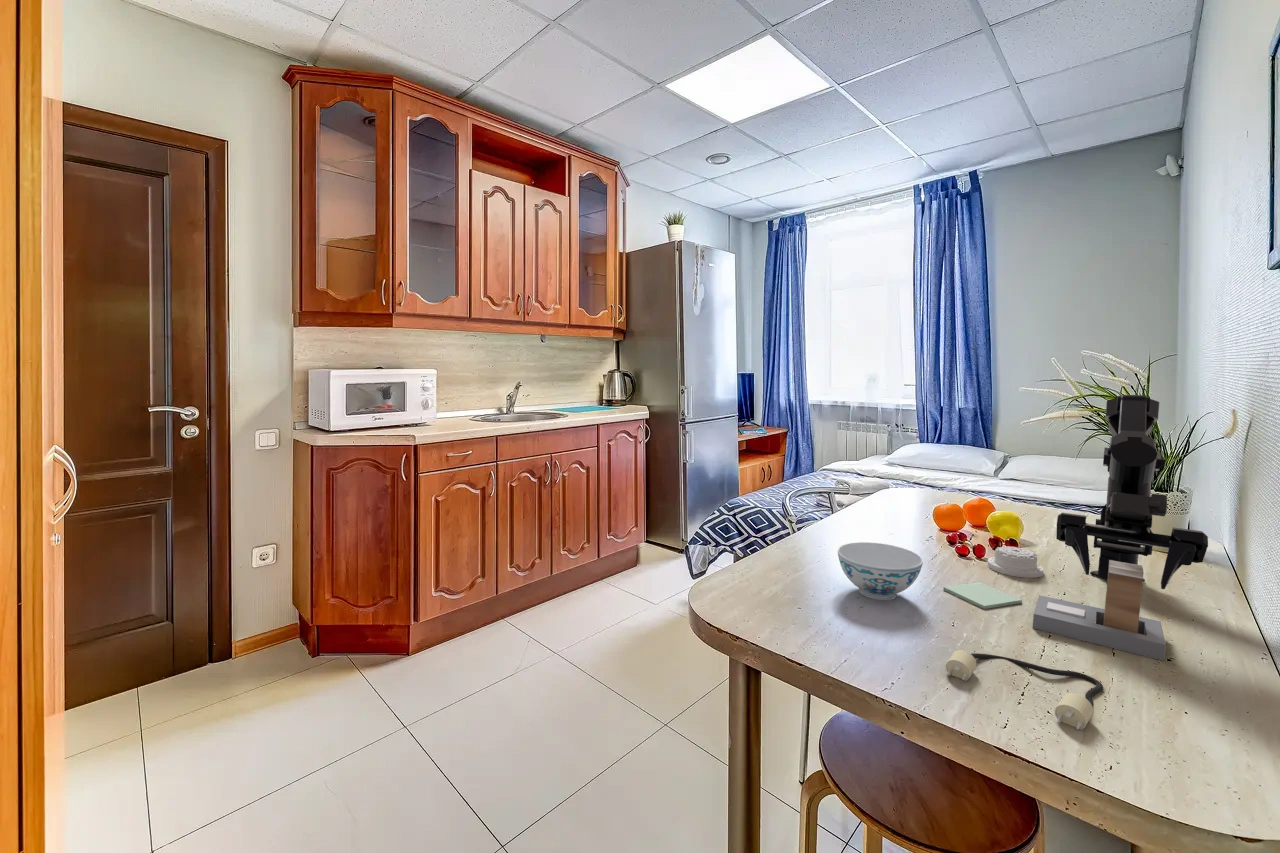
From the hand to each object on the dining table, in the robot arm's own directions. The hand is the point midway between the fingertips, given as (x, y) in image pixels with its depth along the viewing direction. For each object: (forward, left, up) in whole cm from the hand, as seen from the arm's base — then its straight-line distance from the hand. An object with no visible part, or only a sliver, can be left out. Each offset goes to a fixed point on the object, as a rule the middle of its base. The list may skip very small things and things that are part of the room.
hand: (1124, 580), depth 89 cm
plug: (+1, +1, -9) cm, 9 cm away
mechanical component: (-11, -27, -10) cm, 31 cm away
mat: (+8, -18, -9) cm, 22 cm away
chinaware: (+26, -25, -9) cm, 38 cm away
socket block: (+3, -2, -9) cm, 10 cm away
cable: (+28, +6, -10) cm, 31 cm away
